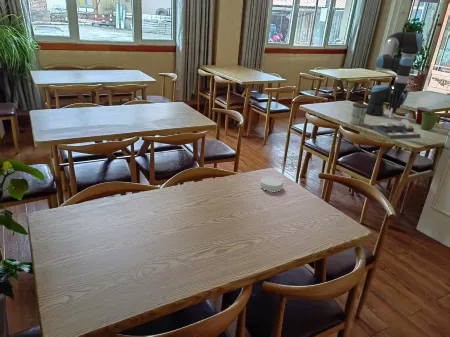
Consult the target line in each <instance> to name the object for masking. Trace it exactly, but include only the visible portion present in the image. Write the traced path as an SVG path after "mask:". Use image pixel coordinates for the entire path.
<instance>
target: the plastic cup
mask: <svg viewBox="0 0 450 337" xmlns="http://www.w3.org/2000/svg"><path fill="white" fill-rule="evenodd" d="M416 110H417V111H416V117H415V124H418V125H421V122H422V113H423V112H426V113H433V110H432V109H429V108H428V107H427V108H426V107H422V106H417V109H416Z"/></svg>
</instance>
